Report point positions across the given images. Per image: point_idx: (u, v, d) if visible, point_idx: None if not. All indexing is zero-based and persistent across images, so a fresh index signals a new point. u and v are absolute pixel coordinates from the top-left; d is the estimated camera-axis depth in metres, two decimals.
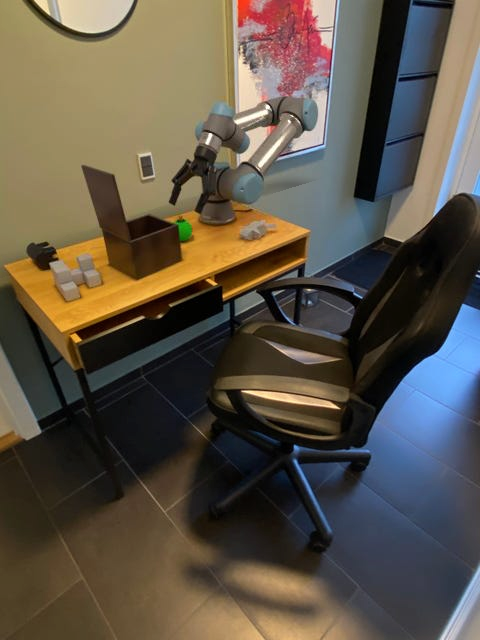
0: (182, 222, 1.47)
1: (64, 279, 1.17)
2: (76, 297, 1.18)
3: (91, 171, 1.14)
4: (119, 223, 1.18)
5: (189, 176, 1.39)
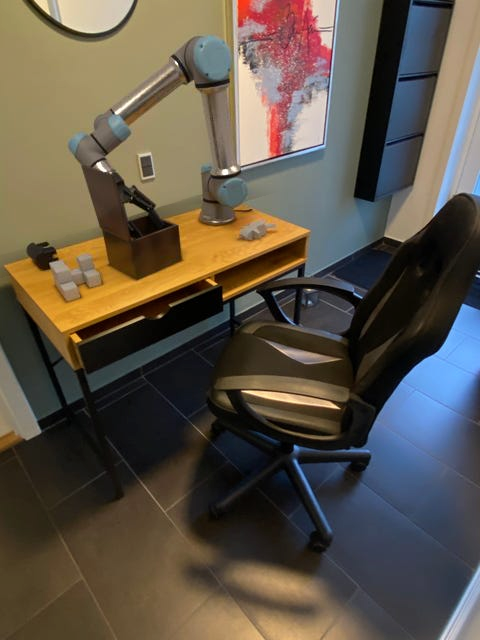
0: None
1: (64, 279, 1.17)
2: (76, 297, 1.18)
3: (91, 171, 1.14)
4: (119, 223, 1.18)
5: (135, 201, 1.32)
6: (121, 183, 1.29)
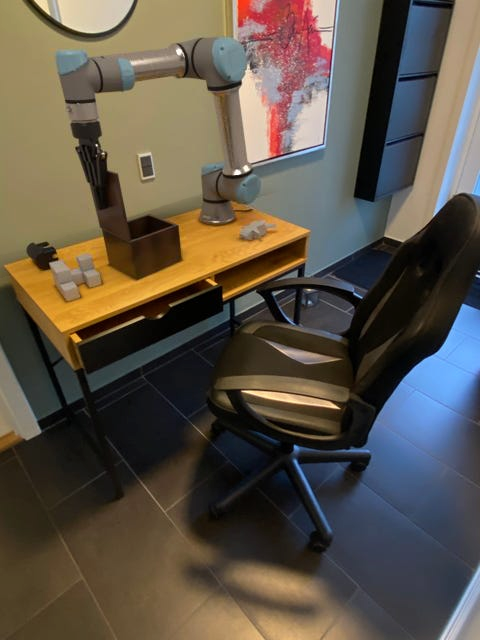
0: None
1: (64, 279, 1.17)
2: (76, 297, 1.18)
3: None
4: (119, 223, 1.18)
5: None
6: None
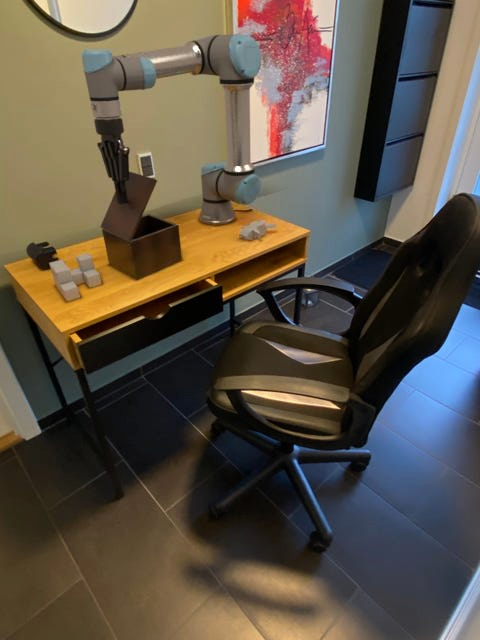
0: None
1: (64, 279, 1.17)
2: (76, 297, 1.18)
3: (132, 175, 1.24)
4: (129, 222, 1.20)
5: None
6: None
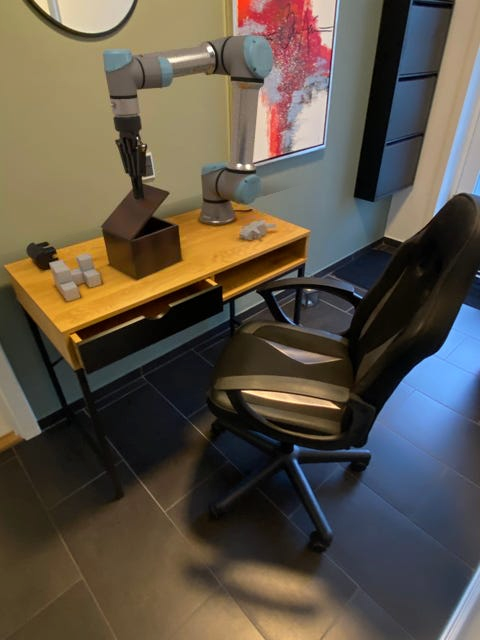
0: None
1: (64, 279, 1.17)
2: (76, 297, 1.18)
3: (145, 186, 1.29)
4: (133, 225, 1.22)
5: None
6: None
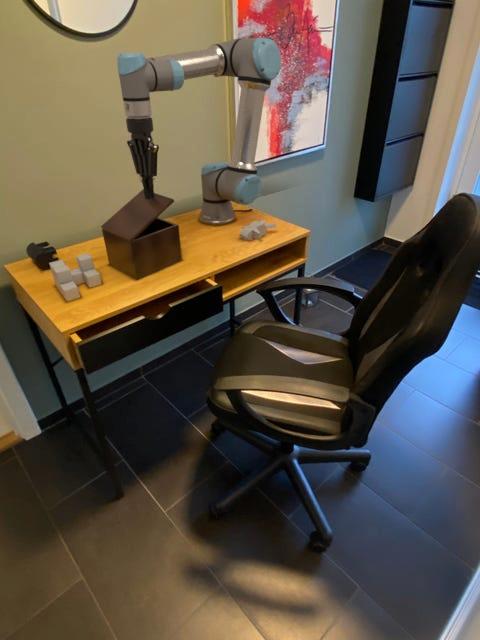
0: None
1: (64, 279, 1.17)
2: (76, 297, 1.18)
3: None
4: (134, 226, 1.22)
5: None
6: None
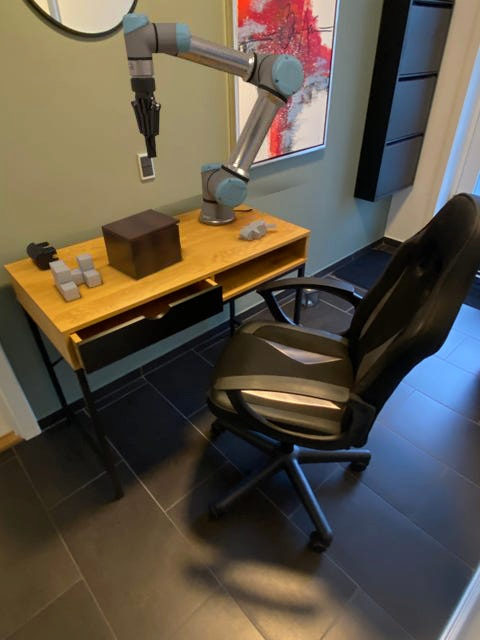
0: None
1: (64, 279, 1.17)
2: (76, 297, 1.18)
3: (157, 212, 1.36)
4: (137, 231, 1.24)
5: None
6: None
